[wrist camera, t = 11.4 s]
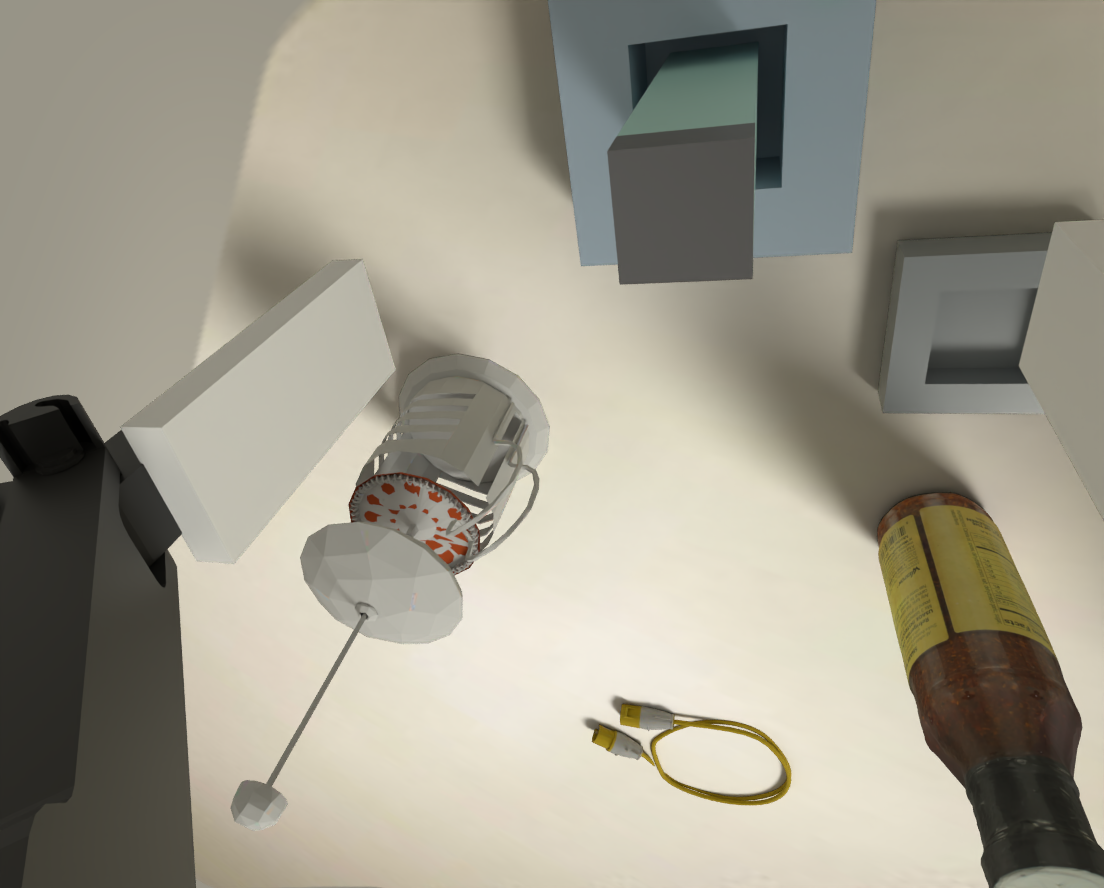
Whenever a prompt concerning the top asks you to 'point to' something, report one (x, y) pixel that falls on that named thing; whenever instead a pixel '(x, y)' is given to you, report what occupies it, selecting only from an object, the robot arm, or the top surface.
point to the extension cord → (665, 720)
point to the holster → (961, 325)
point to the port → (782, 106)
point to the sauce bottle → (989, 690)
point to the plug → (689, 170)
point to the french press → (418, 520)
